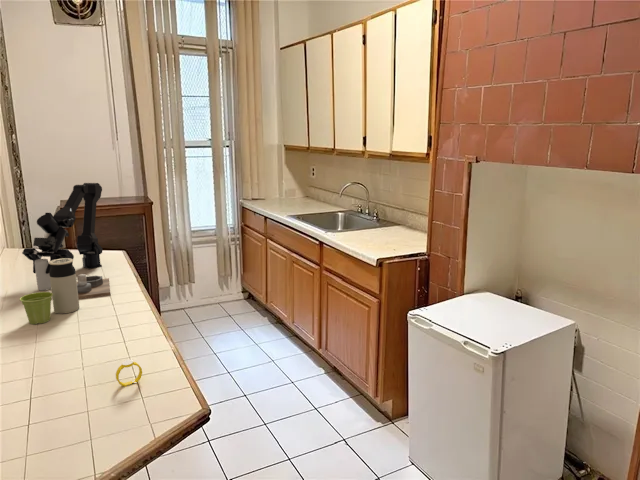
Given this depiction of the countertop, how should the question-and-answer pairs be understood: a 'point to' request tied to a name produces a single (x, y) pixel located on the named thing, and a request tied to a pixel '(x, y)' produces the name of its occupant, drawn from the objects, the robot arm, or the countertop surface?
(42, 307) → the plant pot
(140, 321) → the countertop surface
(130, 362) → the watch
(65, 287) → the travel mug
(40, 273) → the beverage can
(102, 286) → the pin board
